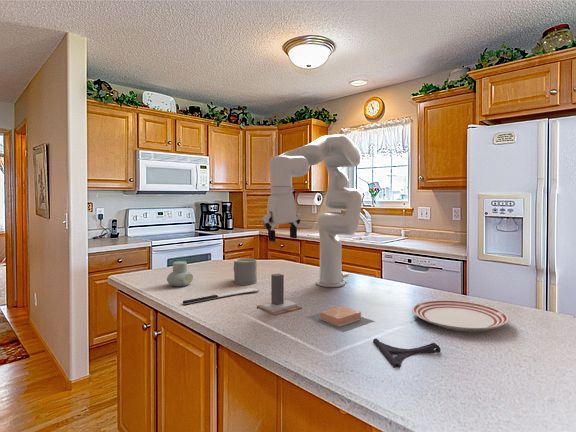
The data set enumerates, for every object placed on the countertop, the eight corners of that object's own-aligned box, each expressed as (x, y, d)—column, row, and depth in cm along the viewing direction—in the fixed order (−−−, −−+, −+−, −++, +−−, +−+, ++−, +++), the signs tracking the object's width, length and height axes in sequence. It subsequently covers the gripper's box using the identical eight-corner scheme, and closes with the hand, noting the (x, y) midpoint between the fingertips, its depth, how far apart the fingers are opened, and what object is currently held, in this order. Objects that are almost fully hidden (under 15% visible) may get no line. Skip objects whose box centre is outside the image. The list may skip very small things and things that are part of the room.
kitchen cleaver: (248, 285, 158) (260, 287, 150) (248, 289, 158) (261, 292, 150) (176, 298, 139) (186, 301, 131) (176, 303, 139) (186, 306, 131)
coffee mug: (260, 283, 164) (260, 260, 164) (239, 286, 159) (239, 263, 159) (247, 277, 176) (247, 256, 175) (228, 279, 171) (227, 258, 170)
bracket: (454, 367, 87) (455, 355, 87) (393, 370, 85) (393, 358, 85) (425, 342, 101) (425, 332, 101) (372, 345, 100) (372, 334, 99)
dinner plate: (409, 330, 108) (409, 319, 108) (413, 304, 134) (413, 295, 134) (518, 344, 98) (518, 332, 98) (500, 313, 124) (500, 303, 124)
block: (342, 305, 122) (360, 312, 116) (341, 312, 122) (360, 319, 116) (319, 312, 116) (338, 318, 109) (319, 319, 116) (338, 326, 109)
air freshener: (180, 289, 155) (180, 265, 154) (164, 287, 158) (163, 264, 157) (195, 283, 165) (195, 260, 164) (180, 281, 168) (179, 259, 167)
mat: (336, 310, 126) (336, 308, 126) (374, 323, 114) (374, 321, 114) (306, 319, 118) (306, 317, 118) (343, 333, 105) (343, 331, 105)
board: (281, 302, 135) (281, 300, 135) (301, 310, 126) (301, 307, 126) (256, 308, 128) (256, 305, 128) (275, 317, 120) (275, 314, 120)
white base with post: (263, 308, 126) (262, 276, 125) (286, 302, 132) (286, 272, 131) (273, 312, 121) (273, 279, 120) (297, 306, 127) (297, 274, 127)
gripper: (293, 190, 138) (294, 235, 140) (255, 192, 128) (256, 241, 129) (307, 190, 133) (308, 237, 134) (267, 192, 122) (269, 244, 124)
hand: (282, 239), depth 132 cm, fingers open, 9 cm apart
